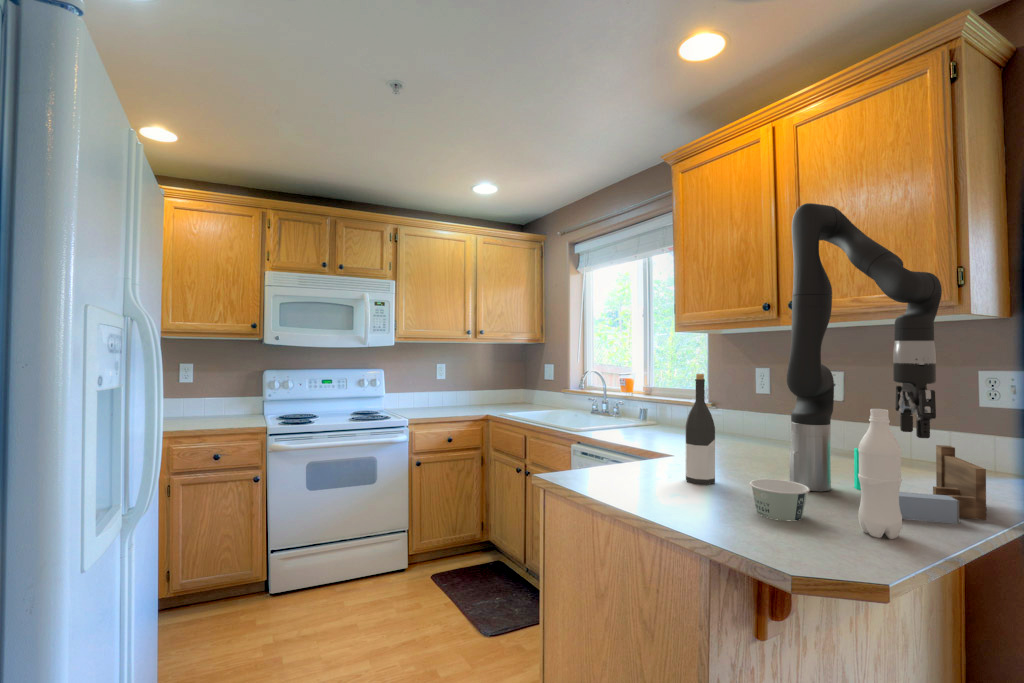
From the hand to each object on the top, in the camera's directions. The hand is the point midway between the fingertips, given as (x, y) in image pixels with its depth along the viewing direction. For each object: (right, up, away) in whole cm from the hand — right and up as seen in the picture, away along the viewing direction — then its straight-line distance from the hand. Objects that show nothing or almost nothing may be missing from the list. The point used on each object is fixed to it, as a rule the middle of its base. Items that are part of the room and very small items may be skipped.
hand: (914, 434), depth 117 cm
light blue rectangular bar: (0, -18, 0) cm, 18 cm away
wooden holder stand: (+14, -18, +7) cm, 24 cm away
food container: (-29, -18, +2) cm, 35 cm away
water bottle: (-15, -18, -11) cm, 26 cm away
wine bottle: (-37, -19, +30) cm, 51 cm away
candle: (+5, -19, +23) cm, 30 cm away
